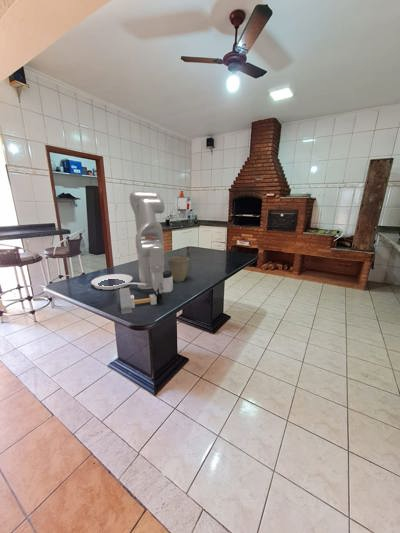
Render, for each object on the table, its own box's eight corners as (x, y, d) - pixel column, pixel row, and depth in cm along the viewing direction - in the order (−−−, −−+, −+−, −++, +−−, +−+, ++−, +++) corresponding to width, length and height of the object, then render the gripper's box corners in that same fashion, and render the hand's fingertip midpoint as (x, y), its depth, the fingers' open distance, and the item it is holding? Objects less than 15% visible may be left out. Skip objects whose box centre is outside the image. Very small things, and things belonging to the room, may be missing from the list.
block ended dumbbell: (124, 305, 118) (123, 296, 117) (155, 301, 124) (154, 292, 123) (124, 309, 114) (124, 299, 113) (156, 304, 120) (156, 295, 118)
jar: (175, 290, 140) (175, 272, 137) (165, 293, 135) (164, 275, 131) (166, 286, 146) (166, 269, 143) (156, 290, 141) (155, 271, 137)
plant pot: (190, 277, 166) (190, 256, 162) (187, 284, 152) (187, 261, 147) (170, 276, 167) (170, 256, 163) (166, 283, 153) (165, 260, 149)
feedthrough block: (120, 301, 123) (119, 286, 121) (129, 300, 125) (128, 285, 123) (121, 314, 109) (120, 297, 106) (132, 312, 111) (130, 296, 108)
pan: (115, 276, 168) (115, 268, 166) (160, 287, 146) (160, 278, 144) (83, 286, 146) (81, 277, 144) (130, 301, 124) (129, 290, 122)
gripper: (148, 265, 123) (149, 296, 128) (152, 272, 110) (154, 306, 114) (161, 264, 126) (162, 294, 130) (167, 271, 112) (168, 304, 117)
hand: (158, 300), depth 122 cm, fingers closed
